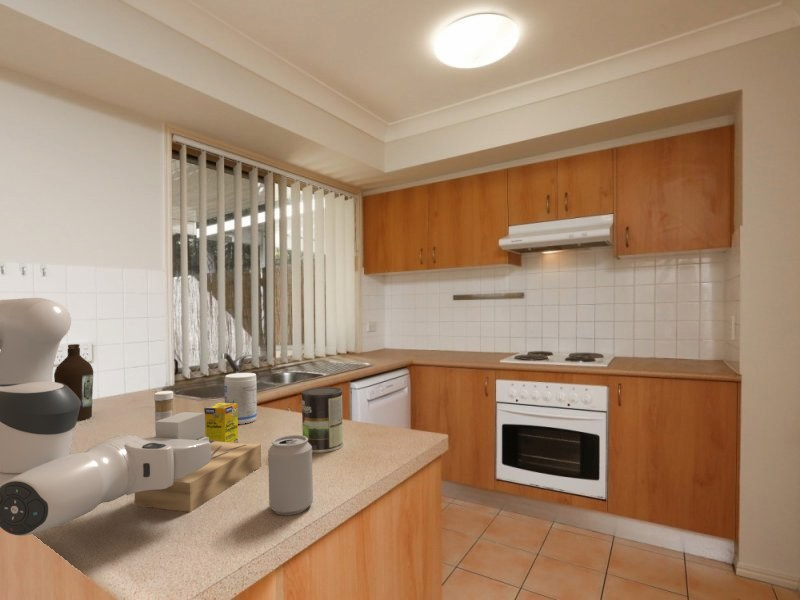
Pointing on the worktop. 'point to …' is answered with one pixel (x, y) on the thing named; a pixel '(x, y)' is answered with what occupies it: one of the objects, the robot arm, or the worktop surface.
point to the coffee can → (322, 418)
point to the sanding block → (181, 426)
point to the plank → (206, 478)
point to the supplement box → (222, 422)
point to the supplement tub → (242, 395)
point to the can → (290, 474)
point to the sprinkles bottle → (163, 405)
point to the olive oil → (77, 379)
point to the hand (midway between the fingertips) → (184, 439)
